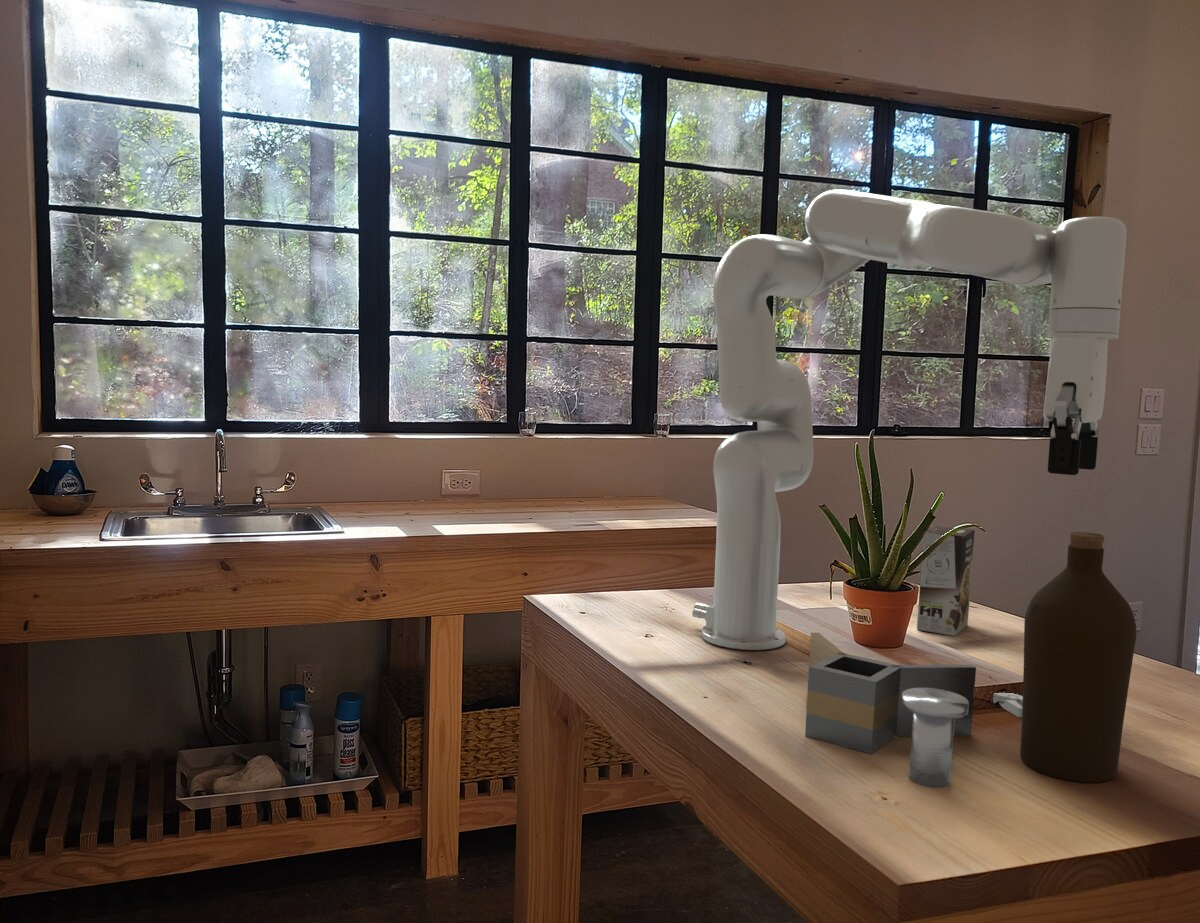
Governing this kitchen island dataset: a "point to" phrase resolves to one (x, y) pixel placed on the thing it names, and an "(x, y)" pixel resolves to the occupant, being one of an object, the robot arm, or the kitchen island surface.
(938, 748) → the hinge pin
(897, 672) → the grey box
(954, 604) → the coffee box
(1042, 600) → the olive oil
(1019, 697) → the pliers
